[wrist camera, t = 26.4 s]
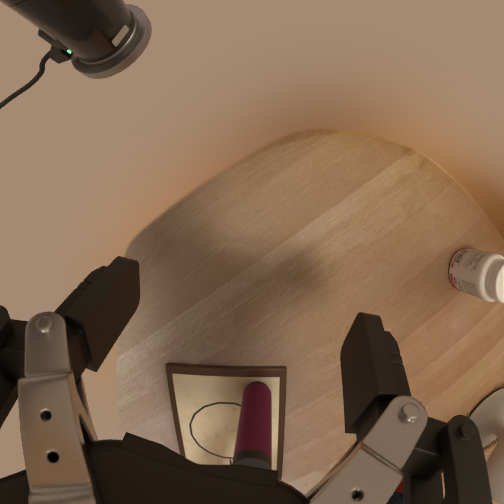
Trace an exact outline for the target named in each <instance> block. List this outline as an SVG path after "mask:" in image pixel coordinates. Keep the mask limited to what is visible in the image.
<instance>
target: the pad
mask: <svg viewBox="0 0 504 504" xmlns="http://www.w3.org/2000/svg"><path fill="white" fill-rule="evenodd" d="M166 372H167V379H168V386H169V393H170V399H171V405H172V411H173V417H174V423H175V428H176V434H177V439H178V444H179V449H180V454H181V456H183V457H185V458H187V459H189V460H191V461H193V462H195V463H197V464H206V465H232V461H233V455H234V449H235V442H236V436H237V429H238V423H239V416H240V410H241V403H242V396H243V391H244V389H245V388H246V387H247V386H248V385H249V384H250V383H252V382H255V381H260V382H263V383H265V384H266V385H267V386H268V388H269V389H270V391H271V394H272V470H277V471H278V478H277V480H281V478H282V461H283V443H284V422H285V398H286V367H233V366H206V365H187V364H173V363H167V364H166Z"/></svg>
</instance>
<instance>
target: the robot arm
mask: <svg viewBox="0 0 504 504" xmlns="http://www.w3.org/2000/svg"><path fill="white" fill-rule="evenodd" d="M0 2H2V3H3V4H5V5H6V6H8V7H10V8H11V9H12V10H14V11H16V12H17V13H18V14H20V15H21V16H23V17H24V18H25V19H27V20H28V21H30V22H31V23H33V24H34V25H35V26H36V27H38V28H39V31H38V35H39V36H40V37H41V38H43V39H44V40H45V41H47V42H48V43H50V44H51V45H52V46H51V50H50V51H49V52H48V53H47V54H46V55H45V56H44V57H43V59H42V60H41V62H40V70H39V72H38V74H37V75H36V76H35V77H34V78H33V79H32V80H31V81H30V82H29V83H28V84H26V85H25V86H23V87H22V88H20V89H19V90H17V91H16V92H15V93H13V94H12V95H10V96H9V97H8V98H7V99H5V100H4V101H3V102H1V103H0V109H1V108H2V107H3V106H5V105H6V104H7V103H8V102H10V101H11V100H12V99H14V98H15V97H17V96H18V95H20V94H21V93H23V92H24V91H26V90H27V89H29V88H30V87H31V86H32V85H33V84H35V83H36V82H37V81H38V80H39V78H40V77H41V76H42V75H43V73H44V70H45V63H46V61H47V60H48V59H49V58H51V59H52V60H54V61H55V62H57V63H62V62H65V61H67V60H70V59H72V60H73V61H75V62H80V61H82V62H83V63H85V64H87V65H100V64H104V63H106V62H109V61H111V60H112V59H114V58H116V57H117V56H118V55H120V54H121V53H122V52H123V51H124V50H125V49H126V48H127V47H128V46H129V45H130V43H131V42H132V41H133V39H134V37H135V35H136V32H137V29H138V21H137V18H136V17H135V15H134V14H133V13H132V12H131V10H129V8H128V7H127V6H126V4H125V3H124V1H123V0H0ZM139 301H140V277H139V263H138V261H136V260H132V259H128V258H124V257H121V256H118V257H116V258H115V259H114V260H113V262H112V263H111V264H110V265H109V266H108V267H106V266H102V267H100V268H98V269H96V270H94V271H92V272H91V273H90V274H89V275H88V276H87V277H86V278H85V279H84V282H81V283H80V284H79V286H78V287H77V289H75V290H74V291H73V292H72V293H71V294H70V295H69V296H68V297H67V298H66V299H65V301H64V302H63V303H62V304H61V305H60V306H59V307H58V308H57V309H56V311H55V312H42V313H39V314H37V315H35V316H33V317H32V318H31V319H30V320H29V321H20V320H13V319H10V317H9V314H8V311H7V309H6V308H5V307H3V306H1V305H0V428H1V426H2V424H3V423H4V421H5V419H6V417H7V416H8V414H9V412H10V410H11V409H12V407H13V405H14V403H15V402H16V400H17V399H18V402H19V418H20V429H21V438H22V446H23V453H24V460H25V466H26V469H25V470H23V471H20V472H18V473H15V474H12V475H9V476H7V477H4V478H1V479H0V504H386V503H387V502H388V500H389V499H390V497H391V496H392V494H393V493H394V491H395V490H396V488H397V487H398V485H399V484H400V482H401V480H402V478H403V504H492V497H491V489H490V483H489V477H488V471H487V466H486V461H485V456H484V451H483V446H482V442H481V438H480V433H479V430H478V428H477V426H476V424H475V423H474V422H473V421H472V420H471V419H470V418H468V417H466V416H463V415H457V416H455V417H453V418H452V419H451V420H450V421H449V422H448V423H445V422H442V421H439V420H436V419H433V418H430V417H428V416H427V412H426V409H425V408H424V406H423V405H422V404H421V403H420V402H419V401H418V400H416V399H415V398H413V397H411V393H410V389H409V385H408V381H407V377H406V373H405V369H404V365H402V363H403V362H402V358H401V356H400V351H399V347H398V344H397V342H396V340H395V339H394V337H393V336H392V335H391V333H390V332H388V331H384V328H383V324H382V321H381V318H380V316H378V315H372V314H367V313H362V312H359V313H358V314H357V316H356V318H355V320H354V322H353V324H352V326H351V328H350V330H349V332H348V334H347V336H346V338H345V340H344V343H343V345H342V349H341V355H340V361H341V372H342V385H343V400H344V417H345V433H354V434H356V436H357V441H356V442H355V443H354V444H353V445H352V446H351V447H350V448H349V450H348V451H347V452H346V453H345V454H344V455H343V457H342V458H341V459H340V460H339V461H338V462H337V463H336V465H335V466H334V467H333V468H332V469H331V470H330V471H329V472H328V473H327V474H326V476H325V477H324V478H323V479H322V480H321V481H320V482H319V483H318V484H316V485H315V486H314V487H313V488H312V489H311V490H310V491H309V492H308V493H307V494H306V495H305V496H304V495H303V494H302V493H301V492H300V491H298V490H297V489H295V488H294V487H292V486H291V485H289V484H287V483H285V482H283V481H280V480H277V478H278V471H277V470H270V469H264V468H258V467H252V466H246V465H241V464H236V465H206V464H197V463H195V462H193V461H191V460H189V459H187V458H185V457H183V456H181V455H179V454H178V453H176V452H174V451H172V450H170V449H169V448H167V447H165V446H163V445H162V444H159V443H156V442H153V441H150V440H147V439H144V438H141V437H138V436H136V435H133V434H130V433H127V432H126V434H125V436H124V438H123V440H98V437H97V435H96V432H95V429H94V426H93V423H92V420H91V416H90V411H89V407H88V402H87V398H86V393H85V388H84V383H83V378H82V373H83V372H84V370H85V368H87V369H89V370H92V371H94V372H97V371H98V369H99V367H100V366H101V364H102V363H103V361H104V359H105V358H106V356H107V355H108V353H109V351H110V350H111V348H112V347H113V345H114V343H115V342H116V340H117V339H118V337H119V336H120V334H121V333H122V331H123V330H124V328H125V326H126V325H127V323H128V322H129V320H130V319H131V317H132V316H133V314H134V313H135V311H136V310H137V307H138V305H139ZM442 472H443V474H444V483H445V497H444V498H443V486H442V477H441V473H442Z"/></svg>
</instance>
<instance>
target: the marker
mask: <svg viewBox="0 0 504 504" xmlns="http://www.w3.org/2000/svg"><path fill="white" fill-rule="evenodd" d="M236 464H241V465H246V466H252V467H258V468H264V469H270V470H272V394H271V391H270V389H269V388H268V386H267V385H266V384H265V383H263V382H260V381H255V382H252V383H250V384H249V385H248V386H247V387H246V388H245V389H244V391H243V396H242V403H241V410H240V416H239V423H238V429H237V436H236V442H235V449H234V455H233V461H232V465H236Z"/></svg>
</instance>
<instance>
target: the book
mask: <svg viewBox="0 0 504 504" xmlns="http://www.w3.org/2000/svg"><path fill="white" fill-rule="evenodd" d="M386 504H403V478H402V480H401V482H400V484H399V485H398V487H397V488H396V490H395V491H394V493H393V494H392V496H391V497H390V499H389V500H388V502H387V503H386Z"/></svg>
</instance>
